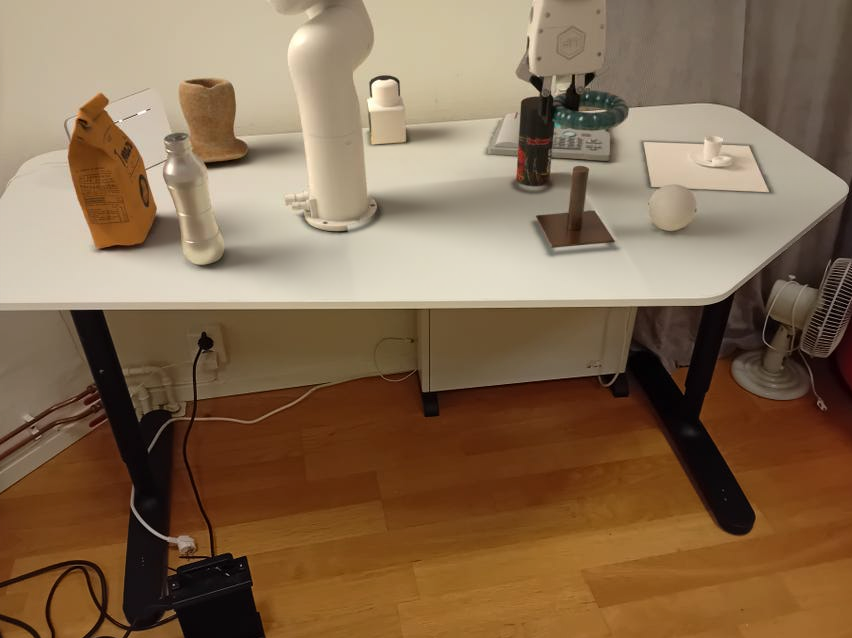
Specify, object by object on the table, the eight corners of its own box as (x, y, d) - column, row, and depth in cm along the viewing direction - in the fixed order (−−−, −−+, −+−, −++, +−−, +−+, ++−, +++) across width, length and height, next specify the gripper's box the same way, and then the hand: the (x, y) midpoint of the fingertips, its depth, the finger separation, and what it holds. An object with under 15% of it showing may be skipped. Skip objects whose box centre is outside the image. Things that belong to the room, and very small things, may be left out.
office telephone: (487, 142, 142) (502, 105, 157) (487, 155, 144) (501, 116, 159) (610, 148, 138) (613, 109, 153) (608, 161, 139) (611, 121, 154)
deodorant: (547, 193, 130) (555, 109, 121) (514, 191, 131) (519, 108, 122) (549, 178, 135) (557, 97, 125) (517, 176, 136) (522, 95, 126)
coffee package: (168, 214, 128) (134, 88, 114) (146, 251, 119) (106, 118, 105) (113, 215, 129) (71, 89, 115) (86, 251, 119) (38, 119, 105)
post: (551, 254, 114) (557, 186, 107) (535, 223, 122) (540, 158, 115) (613, 248, 115) (624, 180, 108) (593, 218, 123) (602, 152, 115)
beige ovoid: (697, 238, 116) (707, 196, 112) (649, 239, 117) (658, 197, 112) (681, 209, 124) (690, 168, 120) (637, 209, 125) (644, 169, 120)
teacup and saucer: (736, 171, 134) (741, 150, 132) (691, 169, 136) (695, 148, 133) (728, 152, 141) (733, 131, 139) (685, 150, 142) (690, 130, 140)
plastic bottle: (189, 273, 113) (156, 150, 100) (182, 253, 118) (149, 133, 105) (231, 263, 115) (203, 141, 102) (222, 244, 120) (194, 125, 107)
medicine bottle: (369, 131, 155) (365, 73, 147) (402, 129, 155) (400, 71, 147) (371, 145, 149) (367, 85, 141) (406, 142, 149) (403, 83, 142)
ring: (559, 136, 101) (561, 119, 100) (538, 106, 110) (539, 90, 109) (639, 129, 102) (641, 112, 101) (611, 101, 111) (614, 85, 109)
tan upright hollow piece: (249, 141, 152) (236, 67, 143) (248, 165, 143) (234, 88, 134) (175, 148, 151) (156, 74, 141) (169, 173, 142) (149, 95, 132)
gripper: (514, -9, 91) (508, 134, 102) (641, -18, 92) (620, 125, 104) (501, -23, 97) (497, 115, 108) (621, -31, 98) (603, 106, 109)
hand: (557, 118), depth 106 cm, fingers closed on ring, 2 cm apart
